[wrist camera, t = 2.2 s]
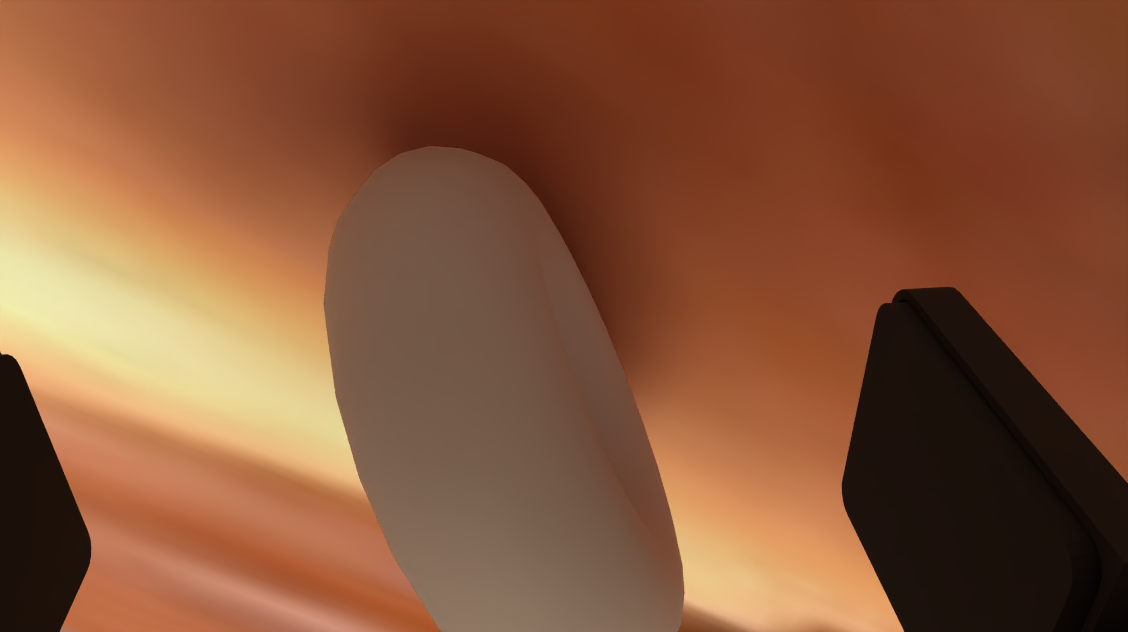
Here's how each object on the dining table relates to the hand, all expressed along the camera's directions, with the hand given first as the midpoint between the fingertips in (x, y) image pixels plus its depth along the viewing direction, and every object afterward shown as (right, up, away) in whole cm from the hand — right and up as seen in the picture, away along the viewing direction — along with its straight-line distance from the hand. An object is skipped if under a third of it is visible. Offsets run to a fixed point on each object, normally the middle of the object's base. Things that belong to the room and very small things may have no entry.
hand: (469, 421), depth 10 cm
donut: (0, +2, +10) cm, 11 cm away
